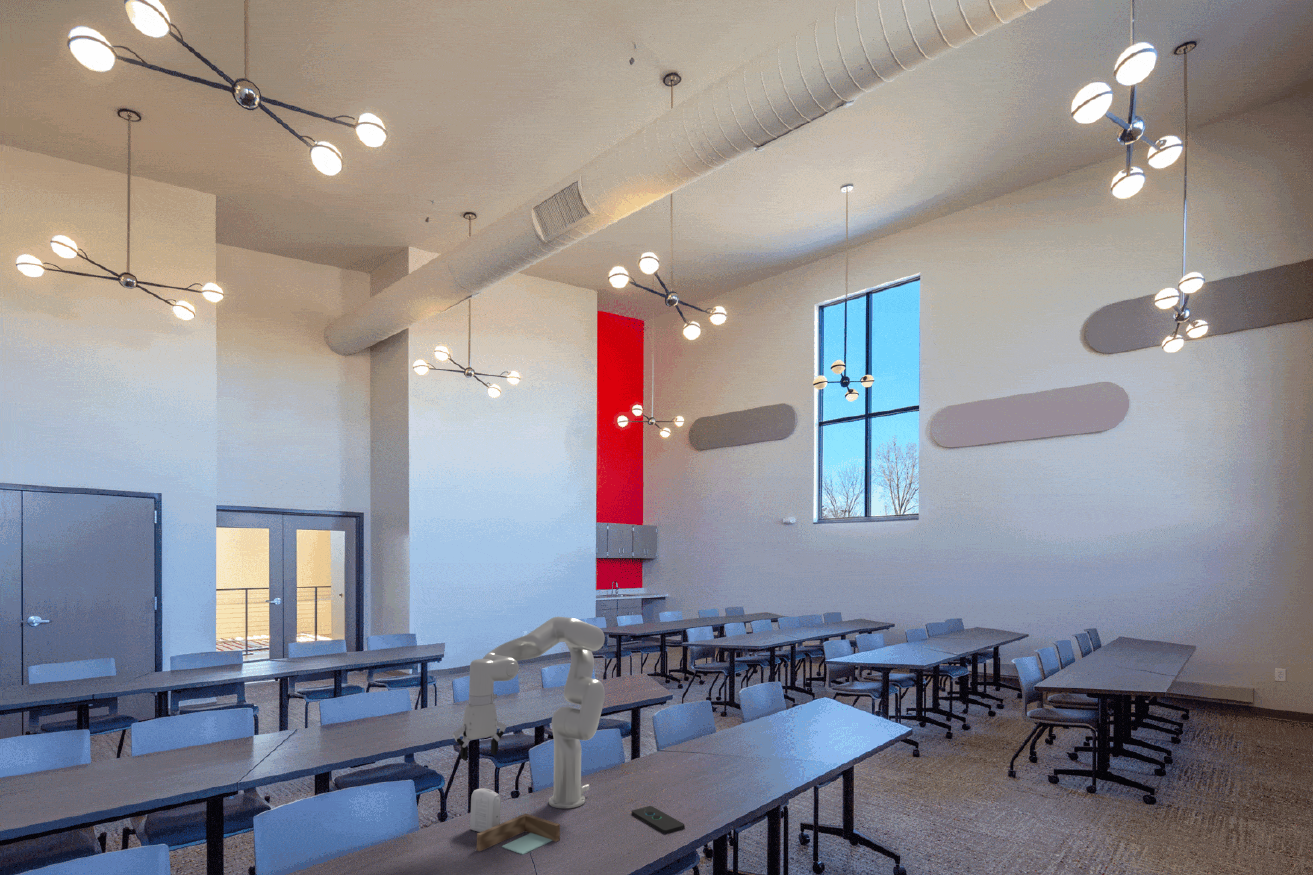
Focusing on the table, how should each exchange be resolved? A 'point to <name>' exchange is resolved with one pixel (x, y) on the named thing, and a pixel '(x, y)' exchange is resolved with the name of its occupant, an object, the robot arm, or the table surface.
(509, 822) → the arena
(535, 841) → the pad
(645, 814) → the smart home device
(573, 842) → the table surface
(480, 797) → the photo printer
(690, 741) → the table surface
